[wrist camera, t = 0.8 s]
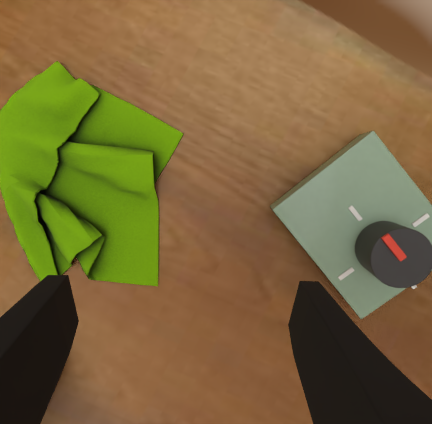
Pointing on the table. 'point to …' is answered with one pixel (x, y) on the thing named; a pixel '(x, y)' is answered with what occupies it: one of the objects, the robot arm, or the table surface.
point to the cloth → (83, 178)
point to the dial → (394, 254)
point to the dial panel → (353, 215)
